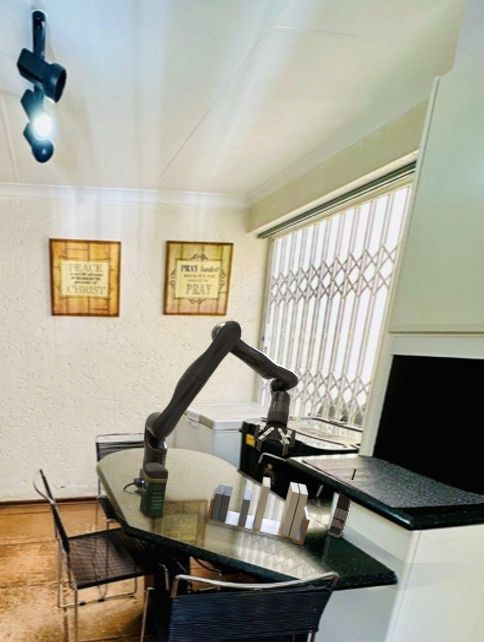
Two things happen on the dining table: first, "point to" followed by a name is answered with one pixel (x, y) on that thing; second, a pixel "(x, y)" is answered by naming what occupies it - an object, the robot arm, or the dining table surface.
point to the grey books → (223, 504)
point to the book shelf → (264, 523)
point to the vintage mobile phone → (340, 514)
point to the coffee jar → (153, 490)
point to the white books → (293, 509)
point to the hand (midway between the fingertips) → (271, 452)
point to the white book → (262, 503)
